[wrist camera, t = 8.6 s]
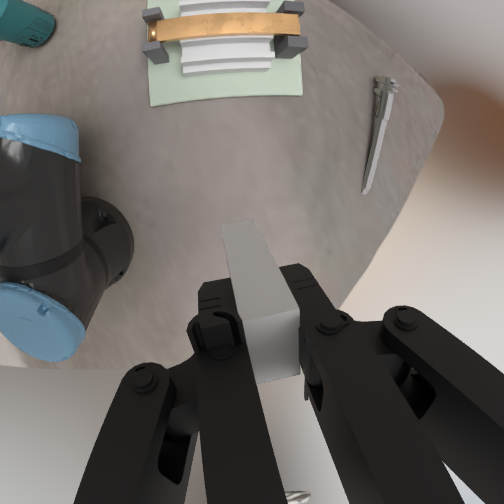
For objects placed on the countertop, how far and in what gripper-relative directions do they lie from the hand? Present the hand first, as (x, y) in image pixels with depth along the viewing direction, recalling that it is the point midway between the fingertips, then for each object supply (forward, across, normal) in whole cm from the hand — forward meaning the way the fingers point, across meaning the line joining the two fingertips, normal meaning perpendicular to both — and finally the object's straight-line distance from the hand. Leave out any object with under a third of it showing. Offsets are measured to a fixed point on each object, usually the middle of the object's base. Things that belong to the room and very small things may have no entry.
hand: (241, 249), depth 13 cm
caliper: (+29, +26, +2) cm, 39 cm away
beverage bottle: (+30, -25, +30) cm, 49 cm away
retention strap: (+24, +3, +18) cm, 31 cm away
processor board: (+29, +4, +18) cm, 34 cm away
